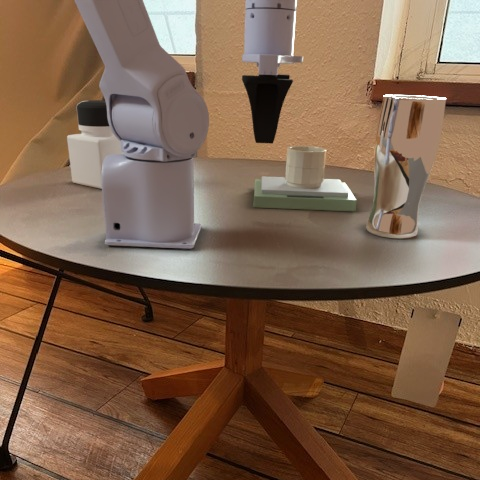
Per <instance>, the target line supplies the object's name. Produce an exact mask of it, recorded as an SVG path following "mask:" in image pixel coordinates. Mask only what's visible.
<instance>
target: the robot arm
mask: <svg viewBox="0 0 480 480" xmlns="http://www.w3.org/2000/svg"><path fill="white" fill-rule="evenodd" d="M73 1H74V3H75V5H76V7H77V9H78V11H79V14H80V16H81V18H82V20H83V22H84V25H85V26H86V28H87V31H88V33H89V35H90V37H91V39H92V42H93V44H94V46H95V48H96V50H97V52H98V54H99V56H100V58H101V61H102V63H103V65H104V71H103V73H102V75H101V78H100V81H99V85H98V86H99V89H100V92H101V93H102V95H103V98H104V101H106V106H107V118H108V123H109V126H110V129H111V131H112V132H113V134H114V135H115V137H116V138H117V139H118V140H120V141H121V151H122V152H124V154H110V155H107V156H106V157H105V159H104V161H103V165H102V175H101V185H102V189H101V195H102V207H103V216H104V227H105V237H106V238H105V240H104V245H107V246H118V247H119V246H121V247H143V248H167V249H194V247H195V245H196V242H197V240H198V238H199V234H200V232H201V230H202V224H201V223H199V222H196V223H195V180H194V179H195V176H194V175H195V173H194V172H195V171H194V169H195V168H194V167H195V165H194V163H195V162H194V161H195V160H194V159H195V158H198V151H199V150H200V149H201V148H202V146H203V145H204V143H205V142H206V139H207V137H208V134H209V133H208V132H209V129H210V128H209V127H210V113H209V109H208V106H207V103H206V101H205V99H204V98H203V97H202V95H201V94H200V93H199V92H198V91H197V90H196V89H195V88H194V86H193V85H192V83H191V81H190V79H189V77H188V74H187V71H186V69H185V67H184V66H183V65H182V64H181V63H180V62H178V60H177V59H175V58H174V57H173V56H172V55H171V54H170V53H168V52H167V51H166V49H164V48H163V47H162V45H161V44H160V42H159V38H158V36H157V34H156V31H155V29H154V26H153V23H152V20H151V18H150V16H149V12H148V10H147V7H146V5H145V3H144V0H73ZM297 3H298V0H245V4H244V5H245V6H244V7H245V8H244V35H243V37H244V40H243V41H244V42H243V54H241V62H242V63H250V64H251V63H253V64H254V63H255V64H256V67H257V68H258V75H252V74H251V75H250V74H249V75H248V74H243V75H241V81H242V83H243V85H244V89H245V91H246V93H247V98H248V101H249V106H250V111H251V121H252V130H253V137H254V142H255V143H256V144H271V145H272V144H274V142H275V139H276V135H277V130H278V127H279V126H278V125H279V121H280V116H281V113H282V108H283V105H284V102H285V99H286V97H287V95H288V93H289V91H290V88H291V87H292V84H293V83H294V80H293V78H290V77H291V76H290V74H282V73H281V74H280V73H279V72H278V71H279V68H280V67H281V64H284V65H285V64H286V65H293V64H296V63H299V64H301V63H303V62H304V56H303V55H302V56H301V55H294V47H295V45H294V44H295V31H296V17H297V5H298V4H297ZM278 73H279V74H278Z"/></svg>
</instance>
